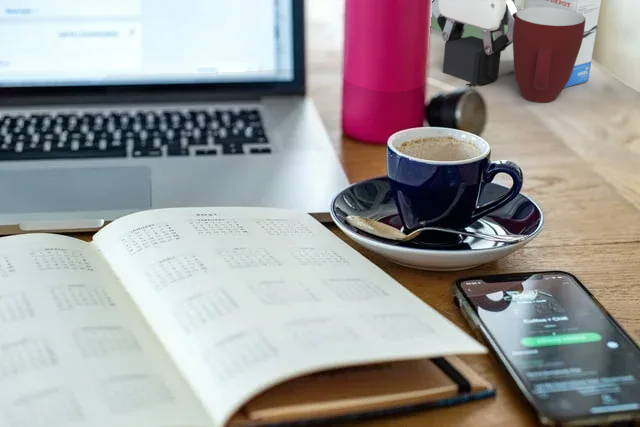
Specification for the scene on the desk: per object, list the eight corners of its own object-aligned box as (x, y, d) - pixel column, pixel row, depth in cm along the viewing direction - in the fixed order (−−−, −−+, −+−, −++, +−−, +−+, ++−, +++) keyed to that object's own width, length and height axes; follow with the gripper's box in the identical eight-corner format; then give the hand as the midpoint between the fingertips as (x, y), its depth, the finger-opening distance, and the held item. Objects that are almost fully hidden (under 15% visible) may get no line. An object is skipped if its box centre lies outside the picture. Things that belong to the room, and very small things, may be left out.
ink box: (590, 82, 112) (605, -11, 107) (563, 89, 110) (578, -6, 104) (540, 63, 119) (552, -25, 113) (514, 70, 116) (525, -20, 111)
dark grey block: (468, 68, 116) (471, 35, 114) (497, 79, 113) (501, 45, 111) (442, 76, 113) (445, 42, 111) (471, 87, 110) (475, 52, 108)
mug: (579, 119, 101) (593, 34, 97) (508, 114, 102) (518, 30, 97) (569, 87, 110) (581, 8, 106) (503, 83, 111) (513, 5, 107)
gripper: (563, -63, 101) (541, 88, 109) (453, -85, 112) (441, 53, 121) (521, -55, 97) (502, 101, 105) (411, -79, 108) (402, 64, 117)
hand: (470, 74), depth 113 cm, fingers closed on dark grey block, 5 cm apart
